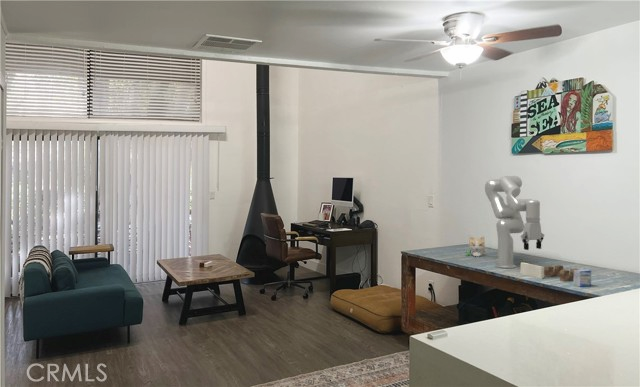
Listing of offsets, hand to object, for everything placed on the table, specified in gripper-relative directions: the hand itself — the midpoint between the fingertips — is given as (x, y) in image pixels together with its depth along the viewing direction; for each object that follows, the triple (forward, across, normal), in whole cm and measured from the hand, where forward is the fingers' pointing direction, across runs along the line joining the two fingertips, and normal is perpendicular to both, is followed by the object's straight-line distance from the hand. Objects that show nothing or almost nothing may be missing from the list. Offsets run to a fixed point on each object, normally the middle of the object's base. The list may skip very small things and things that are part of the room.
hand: (532, 249), depth 282 cm
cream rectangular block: (+16, 0, 0) cm, 17 cm away
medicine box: (+16, -6, +29) cm, 34 cm away
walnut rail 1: (+16, -11, +6) cm, 20 cm away
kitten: (+17, -15, -68) cm, 72 cm away
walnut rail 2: (+16, -11, +17) cm, 26 cm away
